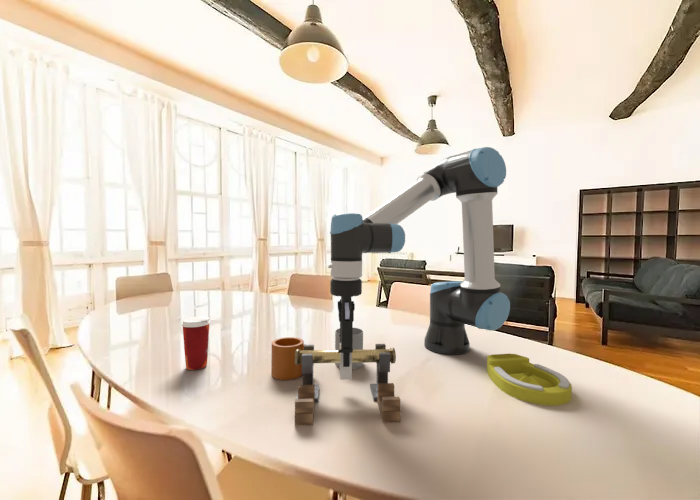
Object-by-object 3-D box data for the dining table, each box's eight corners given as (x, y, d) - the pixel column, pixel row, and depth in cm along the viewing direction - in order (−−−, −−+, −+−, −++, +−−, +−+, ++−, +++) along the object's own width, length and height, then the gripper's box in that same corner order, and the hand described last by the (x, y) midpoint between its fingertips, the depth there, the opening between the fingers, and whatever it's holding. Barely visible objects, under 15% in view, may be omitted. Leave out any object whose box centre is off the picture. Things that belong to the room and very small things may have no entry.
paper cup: (216, 363, 96) (216, 317, 95) (194, 373, 89) (193, 323, 88) (198, 359, 99) (197, 314, 98) (175, 368, 92) (174, 320, 91)
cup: (360, 370, 92) (360, 336, 91) (332, 368, 93) (332, 334, 93) (364, 359, 100) (364, 328, 100) (339, 357, 102) (339, 326, 101)
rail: (393, 360, 80) (393, 345, 80) (396, 365, 76) (396, 350, 76) (296, 361, 78) (296, 347, 78) (294, 367, 75) (294, 352, 75)
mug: (302, 385, 82) (302, 350, 82) (264, 376, 87) (264, 344, 87) (319, 371, 91) (319, 340, 90) (283, 364, 95) (283, 335, 95)
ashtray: (525, 369, 95) (525, 352, 94) (588, 405, 74) (589, 384, 74) (474, 372, 92) (474, 355, 91) (526, 411, 71) (526, 389, 71)
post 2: (389, 386, 82) (389, 343, 81) (395, 401, 75) (395, 354, 74) (369, 387, 82) (370, 343, 81) (373, 401, 74) (374, 354, 74)
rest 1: (314, 405, 73) (314, 384, 72) (312, 425, 65) (312, 402, 64) (298, 405, 72) (298, 384, 72) (294, 426, 64) (294, 402, 64)
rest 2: (392, 403, 74) (393, 382, 73) (400, 423, 66) (400, 400, 66) (377, 403, 73) (377, 382, 73) (383, 424, 65) (383, 400, 65)
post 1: (318, 388, 81) (319, 344, 80) (317, 403, 73) (318, 355, 73) (299, 388, 80) (299, 344, 80) (295, 403, 73) (296, 355, 73)
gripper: (330, 273, 85) (330, 360, 86) (330, 283, 67) (329, 391, 68) (358, 274, 85) (357, 359, 86) (365, 283, 68) (364, 391, 69)
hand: (345, 373), depth 77 cm, fingers open, 4 cm apart
